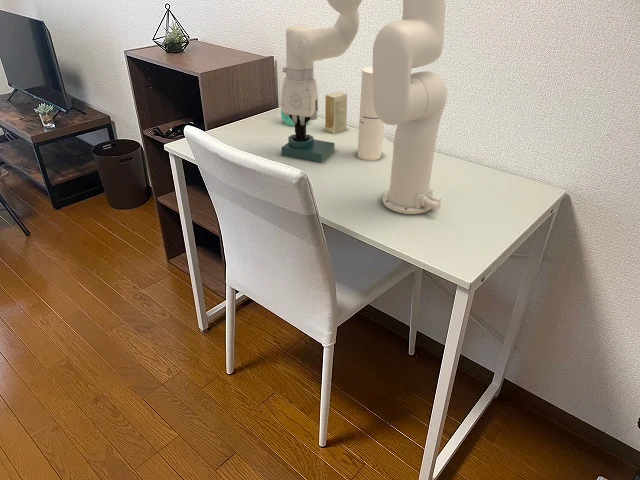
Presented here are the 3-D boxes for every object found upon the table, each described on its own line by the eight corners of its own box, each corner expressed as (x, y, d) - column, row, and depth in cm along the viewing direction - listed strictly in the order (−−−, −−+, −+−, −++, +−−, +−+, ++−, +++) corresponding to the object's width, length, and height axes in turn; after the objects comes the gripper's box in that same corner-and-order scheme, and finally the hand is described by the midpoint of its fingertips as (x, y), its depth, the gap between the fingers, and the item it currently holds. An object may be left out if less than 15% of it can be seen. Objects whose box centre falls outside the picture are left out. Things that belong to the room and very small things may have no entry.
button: (311, 141, 149) (311, 135, 148) (304, 146, 146) (304, 140, 144) (297, 139, 151) (297, 132, 150) (290, 144, 147) (290, 137, 146)
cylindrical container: (373, 162, 144) (379, 74, 130) (352, 156, 147) (357, 70, 134) (385, 154, 149) (393, 69, 135) (365, 149, 152) (371, 65, 139)
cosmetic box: (337, 126, 170) (338, 90, 163) (346, 129, 167) (348, 93, 160) (324, 130, 166) (324, 94, 159) (333, 134, 163) (334, 97, 157)
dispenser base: (334, 151, 151) (334, 137, 148) (321, 163, 143) (321, 148, 140) (296, 144, 155) (296, 130, 152) (281, 155, 147) (281, 141, 145)
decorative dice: (291, 117, 177) (290, 95, 173) (311, 120, 174) (311, 98, 170) (281, 124, 171) (280, 101, 167) (301, 127, 168) (301, 104, 164)
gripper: (270, 73, 137) (272, 136, 147) (319, 80, 132) (318, 144, 142) (282, 67, 143) (284, 128, 153) (329, 73, 138) (328, 136, 148)
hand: (300, 136), depth 147 cm, fingers closed
